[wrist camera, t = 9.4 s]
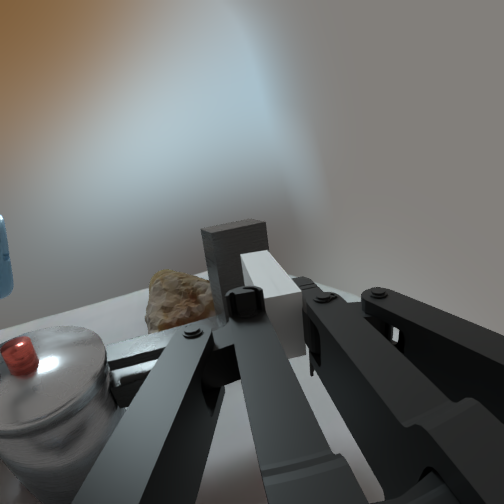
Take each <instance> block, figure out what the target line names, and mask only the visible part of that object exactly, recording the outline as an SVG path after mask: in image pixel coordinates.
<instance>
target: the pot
mask: <svg viewBox="0 0 504 504" xmlns="http://www.w3.org/2000/svg"><path fill="white" fill-rule="evenodd" d="M157 360H158V359H156V360H153V361H149V362H145V363H142V364H138V365H134V366H130V367H126V368H122V369H118V370H114V371H111V370H110V367H109V371H108V374H107V377H106V379H105V381H104V383H103V385H102V386H101V388H100V389H99V391H98V392H97V393H96V395H95V396H94V397H93V398H92V399H91V400H90V401H89V402H88V403H87V404H86V405H85V406H84V407H83V408H82V409H81V410H79V411H78V412H77V413H76V414H74V415H73V416H72V417H70V418H68V419H67V420H65V421H64V422H62V423H60V424H58V425H57V426H55V427H53V428H51V429H48V430H46V431H43V432H41V433H38V434H35V435H31V436H27V437H22V438H16V439H1V438H0V458H1V459H2V461H3V462H4V463H5V464H6V465H7V467H8V468H9V469H10V470H11V471H12V473H13V474H14V475H15V476H16V477H17V478H18V479H19V480H20V482H21V483H22V484H23V485H24V486H25V487H26V488H27V489H28V490H29V491H30V492H31V493H32V494H33V495H34V496H35V497H36V498H37V499H38V500H39V501H40V502H42V503H43V504H71V503H72V501H73V500H74V498H75V496H76V494H77V493H78V491H79V489H80V487H81V486H82V484H83V482H84V481H85V479H86V477H87V475H88V474H89V472H90V470H91V469H92V467H93V465H94V463H95V462H96V460H97V458H98V457H99V455H100V453H101V452H102V450H103V448H104V447H105V445H106V443H107V442H108V440H109V438H110V437H111V435H112V433H113V432H114V430H115V428H116V427H117V425H118V423H119V422H120V420H121V418H122V417H123V415H124V413H125V412H126V409H125V407H129V405H130V404H131V402H132V400H133V399H134V397H135V395H136V394H137V392H138V391H139V389H140V387H141V386H142V384H143V383H144V381H145V379H146V378H147V376H148V374H149V373H150V371H151V370H152V368H153V366H154V365H155V363H156V362H157ZM109 372H110V373H109Z"/></svg>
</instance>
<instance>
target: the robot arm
mask: <svg viewBox="0 0 504 504" xmlns="http://www.w3.org/2000/svg"><path fill="white" fill-rule="evenodd" d="M240 256H241V263H242V270H243V276H244V283H245V286H242V287H238V288H235V289H232V290H229V291H228V292H227V293H226V295H225V296H226V302H227V308H228V313H229V322H228V323H227V324H226V325H225V326H224V327H222V328H220V329H218V330H215V331H212V329H211V327H210V326H208V325H205V324H188V325H185V326H183V327H182V328H180V329H178V330H177V331H176V332H175V333H174V335H173V336H172V338H171V339H170V341H169V343H168V344H167V346H166V347H165V349H164V350H163V352H162V354H161V355H160V357H159V358H158V360H157V362H156V363H155V365H154V366H153V368H152V370H151V371H150V373H149V374H148V376H147V378H146V379H145V381H144V383H143V384H142V386H141V387H140V389H139V391H138V392H137V394H136V395H135V397H134V399H133V400H132V402H131V404H130V405H129V407H128V409H127V410H126V412H125V413H124V415H123V417H122V418H121V420H120V422H119V423H118V425H117V427H116V428H115V430H114V432H113V433H112V435H111V437H110V438H109V440H108V442H107V443H106V445H105V447H104V448H103V450H102V452H101V453H100V455H99V457H98V458H97V460H96V462H95V463H94V465H93V467H92V469H91V470H90V472H89V474H88V475H87V477H86V479H85V481H84V482H83V484H82V486H81V487H80V489H79V491H78V493H77V494H76V496H75V498H74V500H73V501H72V503H71V504H195V502H196V498H197V494H198V491H199V487H200V483H201V480H202V476H203V472H204V469H205V465H206V461H207V458H208V454H209V450H210V446H211V443H212V439H213V435H214V431H215V428H216V424H217V420H218V416H219V413H220V409H221V405H222V401H223V398H224V394H225V387H224V385H227V384H229V383H232V382H234V381H237V380H240V379H241V383H242V388H243V393H244V398H245V402H246V407H247V412H248V417H249V421H250V426H251V431H252V435H253V440H254V444H255V449H256V453H257V458H258V462H259V467H260V471H261V475H262V480H263V484H264V488H265V492H266V496H267V501H268V504H369V503H368V501H367V499H366V497H365V495H364V493H363V491H362V489H361V487H360V485H359V484H358V482H357V480H356V478H355V476H354V474H353V472H352V470H351V468H350V466H349V464H348V463H347V461H346V459H345V458H344V457H343V456H342V455H341V454H336V455H335V454H333V452H332V451H331V449H330V447H329V445H328V443H327V441H326V439H325V437H324V434H323V432H322V430H321V428H320V426H319V424H318V422H317V420H316V418H315V415H314V413H313V411H312V409H311V407H310V405H309V403H308V401H307V399H306V396H305V394H304V392H303V390H302V388H301V386H300V384H299V382H298V379H297V377H296V375H295V373H294V371H293V369H292V367H291V364H290V362H289V360H288V359H290V358H294V357H299V356H303V355H306V345H307V346H308V348H309V360H310V375H311V376H313V372H314V370H315V371H316V372H317V375H318V376H319V378H320V379H321V381H322V383H323V385H324V387H325V388H326V390H327V392H328V394H329V395H330V397H331V399H332V401H333V402H334V404H335V406H336V408H337V410H338V411H339V413H340V415H341V417H342V418H343V420H344V422H345V424H346V425H347V427H348V429H349V431H350V432H351V434H352V436H353V438H354V439H355V441H356V443H357V445H358V447H359V448H360V450H361V452H362V454H363V455H364V457H365V459H366V461H367V462H368V464H369V466H370V468H371V469H372V471H373V473H374V475H375V476H376V478H377V480H378V482H379V483H380V485H381V487H382V489H383V492H384V496H385V501H381V502H376V503H370V504H504V336H503V335H501V334H498V333H496V332H493V331H491V330H489V329H486V328H484V327H481V326H479V325H477V324H474V323H472V322H469V321H467V320H464V319H462V318H459V317H457V316H455V315H452V314H450V313H447V312H444V311H442V310H440V309H437V308H435V307H432V306H430V305H427V304H425V303H423V302H420V301H417V300H415V299H413V298H410V297H408V296H405V295H402V294H400V293H397V292H395V291H392V290H390V289H386V288H380V287H376V288H375V287H374V288H371V289H368V290H365V291H364V292H363V293H362V294H361V302H352V303H347V302H346V301H345V300H344V299H343V298H342V297H341V296H339V295H338V294H336V293H331V292H323V291H322V290H321V289H320V288H319V287H318V286H317V285H316V284H315V283H314V282H313V281H312V280H311V279H309V278H306V277H298V278H292V279H291V278H290V277H289V276H288V274H287V273H286V272H285V271H284V270H283V268H282V267H281V266H280V265H279V264H278V262H277V261H276V260H275V259H274V258H273V256H272V255H271V254H270V253H269V252H268V251H267V250H264V251H258V252H252V253H246V254H240ZM12 290H13V274H12V268H11V262H10V257H9V250H8V241H7V235H6V228H5V223H4V218H3V216H2V215H1V214H0V299H2V298H4V297H7V296H8V295H10V294H11V292H12ZM393 327H395V328H397V329H399V340H398V342H395V341H393V340H392V338H393ZM305 343H306V345H305Z"/></svg>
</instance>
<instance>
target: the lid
mask: <svg viewBox="0 0 504 504" xmlns="http://www.w3.org/2000/svg"><path fill="white" fill-rule="evenodd" d="M201 235H202V241H203V246H204V253H205V258H206V265H207V270H208V276H209V281H210V287H211V292H212V298H213V303H214V308H215V314H216V316H213V317H210V318H206V319H203V320H199V321H196V322H192V323H189V324H205V325H208V326H210V327H211V329H212V331H215V330H218V329H220V328H222V327H224V326H225V325H226V324H227V323H228V322H229V313H228V308H227V302H226V296H225V295H226V293H227V292H228V291H229V290H232V289H235V288H238V287H242V286H245V283H244V276H243V270H242V263H241V256H240V254H246V253H252V252H258V251H264V250H267V251H268V252H269V246H268V238H267V230H266V222H264V221H258V220H254V219H247V220H241V221H236V222H231V223H226V224H221V225H216V226H212V227H207V228H202V229H201ZM185 325H188V324H185ZM185 325H182V326H178V327H174V328H171V329H167V330H163V331H160V332H156V333H152V334H148V335H145V336H141V337H137V338H133V339H129V340H125V341H121V342H117V343H113V344H109V345H107V352H106V349H105V347H104V344H103V342H102V339H101V338H100V337H99V335H98V334H96V333H95V332H93V331H91V330H89V329H86V328H82V327H75V326H59V327H51V328H45V329H40V330H36V331H32V332H29V333H26V334H23V335H20V336H17V337H15V338H13V339H10V340H8V341H6V342H4V343H2V344H0V438H1V439H16V438H22V437H27V436H31V435H35V434H38V433H41V432H43V431H46V430H48V429H51V428H53V427H55V426H57V425H58V424H60V423H62V422H64V421H65V420H67V419H68V418H70V417H72V416H73V415H74V414H76V413H77V412H78V411H79V410H81V409H82V408H83V407H84V406H85V405H86V404H87V403H88V402H89V401H90V400H91V399H92V398H93V397H94V396H95V395H96V393H97V392H98V391H99V389H100V388H101V386H102V385H103V383H104V381H105V379H106V377H107V374H108V370H109V367H110V370H111V371H114V370H118V369H122V368H126V367H130V366H134V365H138V364H142V363H145V362H149V361H153V360H156V359H158V358H159V357H160V355H161V354H162V352H163V350H164V349H165V347H166V346H167V344H168V343H169V341H170V339H171V338H172V336H173V335H174V333H175V332H176V331H177V330H178V329H180V328H182V327H183V326H185Z"/></svg>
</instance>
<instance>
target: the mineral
mask: <svg viewBox="0 0 504 504" xmlns="http://www.w3.org/2000/svg"><path fill="white" fill-rule="evenodd" d="M213 316H216V314H215V308H214V303H213V298H212V292H211V287H210V281H208V280H205V279H202V278H199V277H197V276H193V275H189V274H186V273H182V272H175V271H173V270H169V269H166V270H161V271H158V272H157V273H156V274H155V275H154V276H153V277H152V278H151V281H150V285H149V301H148V306H147V308H146V316H145V321H146V323H147V327H148V334H152V333H156V332H160V331H163V330H167V329H171V328H174V327H178V326H182V325H185V324H189V323H192V322H196V321H199V320H203V319H206V318H210V317H213Z"/></svg>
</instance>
